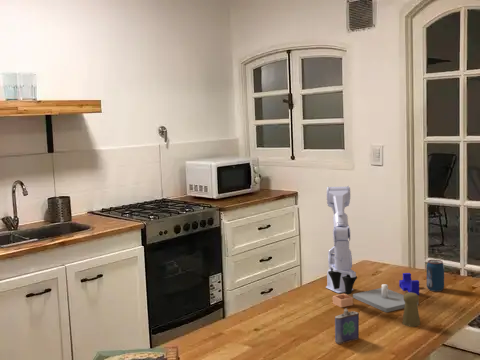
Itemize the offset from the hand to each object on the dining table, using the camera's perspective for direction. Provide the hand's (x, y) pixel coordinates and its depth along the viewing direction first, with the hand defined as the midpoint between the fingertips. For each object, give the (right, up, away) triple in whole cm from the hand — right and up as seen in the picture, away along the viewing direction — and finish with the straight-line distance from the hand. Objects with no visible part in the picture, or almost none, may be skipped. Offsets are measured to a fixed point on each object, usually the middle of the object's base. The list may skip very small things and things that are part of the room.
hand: (342, 291), depth 218 cm
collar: (0, -5, +1) cm, 5 cm away
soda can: (+41, -2, +14) cm, 44 cm away
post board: (+17, -4, +2) cm, 18 cm away
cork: (+20, -7, -22) cm, 31 cm away
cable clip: (+30, -3, +14) cm, 33 cm away
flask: (-5, -10, -34) cm, 36 cm away
